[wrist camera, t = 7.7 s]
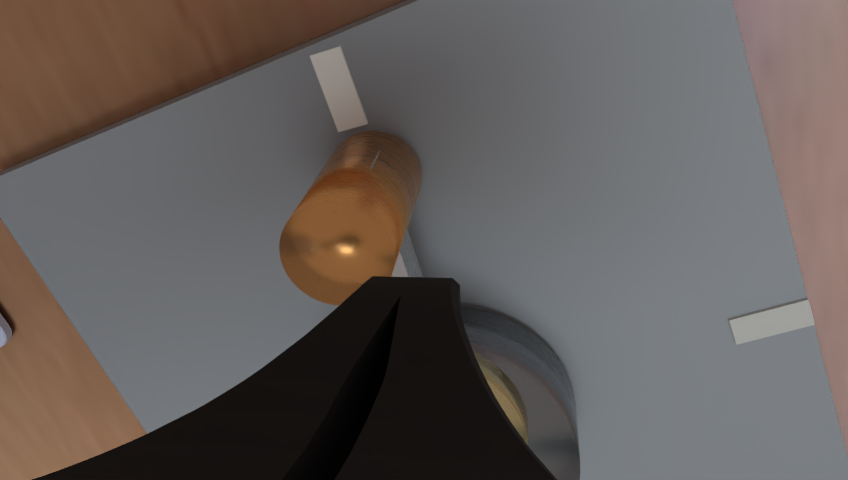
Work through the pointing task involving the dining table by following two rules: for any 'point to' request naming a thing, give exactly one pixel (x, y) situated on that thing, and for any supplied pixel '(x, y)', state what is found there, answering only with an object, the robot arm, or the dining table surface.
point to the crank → (395, 257)
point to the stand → (471, 222)
